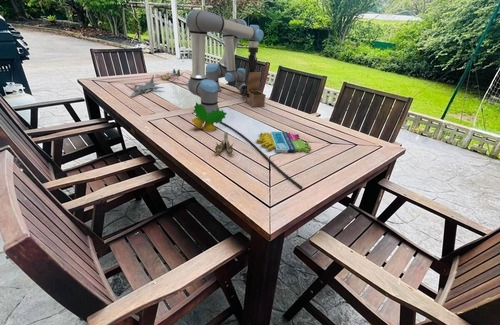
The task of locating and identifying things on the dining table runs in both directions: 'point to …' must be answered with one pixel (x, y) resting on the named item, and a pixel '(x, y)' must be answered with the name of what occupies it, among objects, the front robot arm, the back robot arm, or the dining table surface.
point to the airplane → (145, 87)
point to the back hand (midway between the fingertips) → (254, 95)
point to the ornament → (207, 117)
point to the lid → (254, 80)
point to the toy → (170, 75)
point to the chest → (256, 99)
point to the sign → (283, 142)
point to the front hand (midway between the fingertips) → (251, 77)
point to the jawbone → (224, 145)
